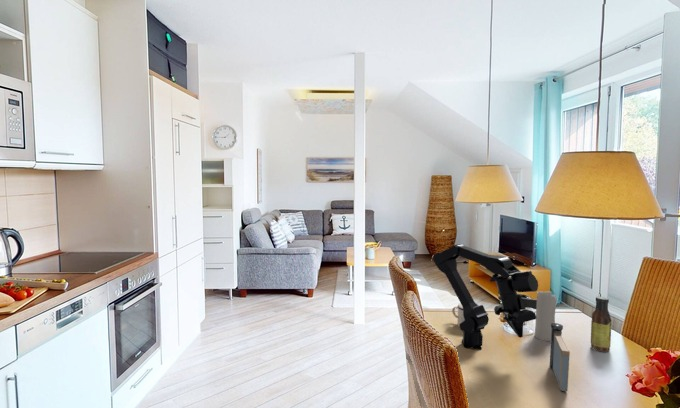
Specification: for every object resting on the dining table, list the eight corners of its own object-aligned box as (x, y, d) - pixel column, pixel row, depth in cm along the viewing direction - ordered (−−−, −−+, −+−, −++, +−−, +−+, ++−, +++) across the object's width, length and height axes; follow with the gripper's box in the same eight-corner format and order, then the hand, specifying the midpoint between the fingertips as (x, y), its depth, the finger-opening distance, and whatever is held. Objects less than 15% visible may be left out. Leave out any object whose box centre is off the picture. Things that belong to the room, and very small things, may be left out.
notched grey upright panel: (565, 334, 154) (568, 287, 153) (549, 342, 146) (551, 293, 145) (548, 328, 160) (550, 283, 159) (531, 336, 152) (533, 288, 151)
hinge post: (550, 369, 125) (552, 326, 124) (546, 364, 129) (549, 322, 128) (562, 370, 125) (564, 327, 124) (558, 365, 128) (560, 323, 127)
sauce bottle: (613, 353, 138) (616, 301, 136) (594, 351, 139) (598, 300, 138) (604, 346, 144) (607, 296, 143) (586, 344, 145) (589, 294, 144)
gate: (552, 368, 125) (554, 332, 125) (558, 369, 125) (560, 333, 124) (559, 390, 112) (562, 350, 111) (567, 391, 111) (569, 351, 111)
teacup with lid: (482, 326, 161) (483, 300, 161) (472, 332, 155) (473, 305, 154) (457, 318, 170) (458, 294, 169) (446, 324, 164) (447, 298, 163)
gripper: (544, 289, 122) (558, 337, 120) (516, 284, 140) (528, 326, 138) (512, 298, 121) (526, 346, 119) (488, 292, 140) (500, 333, 138)
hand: (520, 337), depth 129 cm, fingers closed
